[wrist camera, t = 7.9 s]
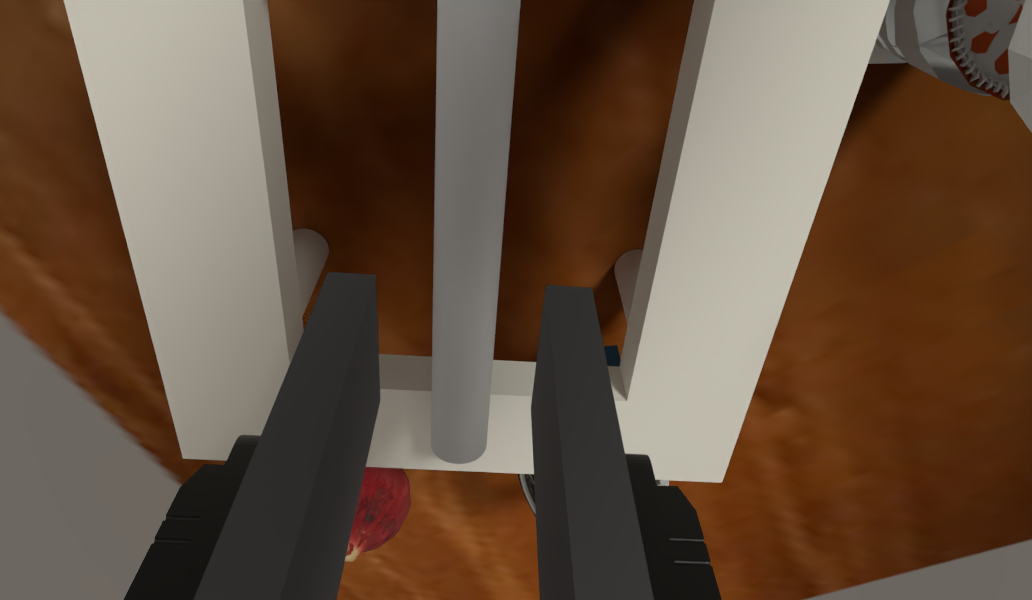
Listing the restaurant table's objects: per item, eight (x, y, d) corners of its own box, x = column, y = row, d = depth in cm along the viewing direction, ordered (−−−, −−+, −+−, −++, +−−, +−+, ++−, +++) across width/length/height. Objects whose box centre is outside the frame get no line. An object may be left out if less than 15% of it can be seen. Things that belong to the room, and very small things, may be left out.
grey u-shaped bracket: (591, 287, 15) (733, 1004, 6) (571, 409, 17) (654, 1091, 8) (327, 271, 15) (28, 1000, 5) (338, 398, 17) (129, 1095, 7)
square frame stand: (763, -177, 27) (1010, -196, 14) (657, 292, 39) (736, 523, 26) (219, -230, 26) (-78, -305, 13) (281, 270, 38) (161, 499, 25)
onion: (362, 408, 44) (336, 510, 37) (434, 451, 46) (421, 554, 39) (311, 458, 46) (278, 561, 40) (382, 496, 48) (362, 601, 42)
